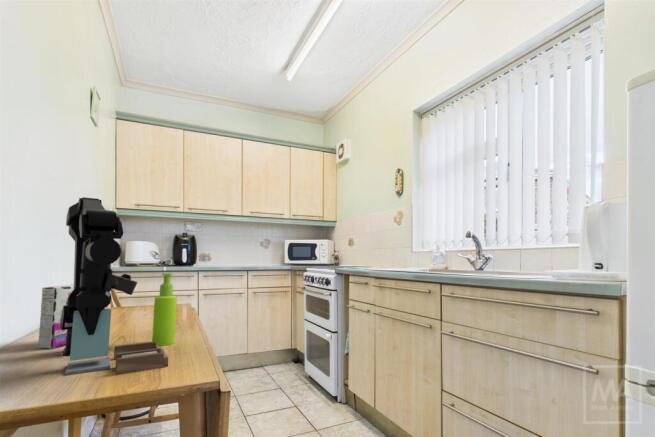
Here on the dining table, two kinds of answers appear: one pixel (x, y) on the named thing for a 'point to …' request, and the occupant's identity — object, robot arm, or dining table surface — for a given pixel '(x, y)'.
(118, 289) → the robot arm
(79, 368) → the slate mat
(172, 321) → the soap dispenser
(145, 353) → the gray notched block
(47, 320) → the candy bar box
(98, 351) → the light blue rectangular prism
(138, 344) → the walnut rack
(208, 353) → the dining table surface
